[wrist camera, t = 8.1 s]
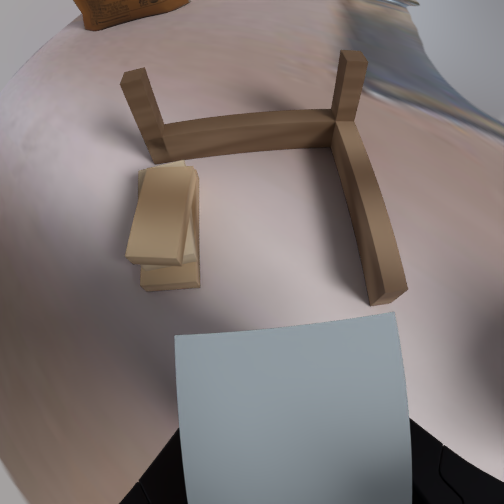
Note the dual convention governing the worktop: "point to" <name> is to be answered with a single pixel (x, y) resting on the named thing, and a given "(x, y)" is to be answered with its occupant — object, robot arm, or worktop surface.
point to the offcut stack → (166, 228)
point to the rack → (291, 137)
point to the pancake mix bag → (122, 11)
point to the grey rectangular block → (295, 414)
